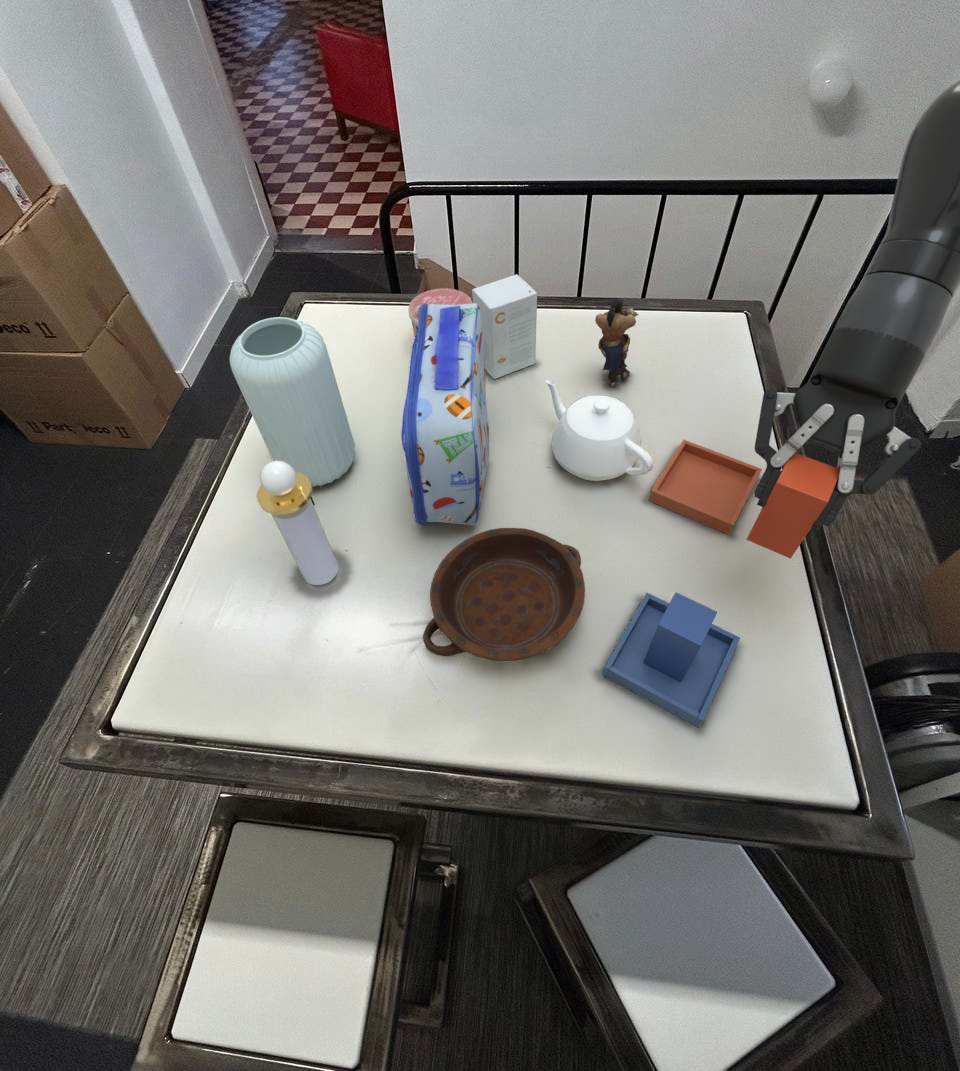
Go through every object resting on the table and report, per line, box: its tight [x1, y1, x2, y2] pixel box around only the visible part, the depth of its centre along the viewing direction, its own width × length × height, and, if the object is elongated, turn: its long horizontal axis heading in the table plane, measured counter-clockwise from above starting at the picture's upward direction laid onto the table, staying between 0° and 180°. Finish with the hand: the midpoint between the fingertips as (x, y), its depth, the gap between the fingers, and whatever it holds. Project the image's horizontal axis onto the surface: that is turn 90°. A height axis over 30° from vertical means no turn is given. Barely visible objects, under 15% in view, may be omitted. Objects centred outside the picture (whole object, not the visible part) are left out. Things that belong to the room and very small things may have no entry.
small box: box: [471, 273, 538, 380], centre depth 97 cm, size 8×6×13 cm
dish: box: [422, 527, 586, 662], centre depth 72 cm, size 18×22×5 cm
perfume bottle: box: [256, 460, 339, 586], centre depth 70 cm, size 6×6×20 cm
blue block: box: [643, 591, 718, 682], centre depth 65 cm, size 4×4×9 cm
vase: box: [229, 316, 356, 488], centre depth 81 cm, size 12×12×22 cm
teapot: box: [545, 379, 655, 482], centre depth 84 cm, size 20×12×10 cm, turn 39°
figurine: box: [594, 298, 639, 388], centre depth 92 cm, size 7×6×15 cm
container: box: [407, 287, 473, 337], centre depth 102 cm, size 10×10×8 cm
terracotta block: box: [746, 452, 840, 559], centre depth 59 cm, size 4×4×9 cm
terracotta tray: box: [648, 439, 763, 535], centre depth 83 cm, size 11×11×2 cm
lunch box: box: [401, 302, 490, 527], centre depth 80 cm, size 28×10×22 cm, turn 0°
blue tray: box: [602, 592, 741, 728], centre depth 68 cm, size 11×11×2 cm
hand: (787, 516), depth 58 cm, fingers closed on terracotta block, 4 cm apart
